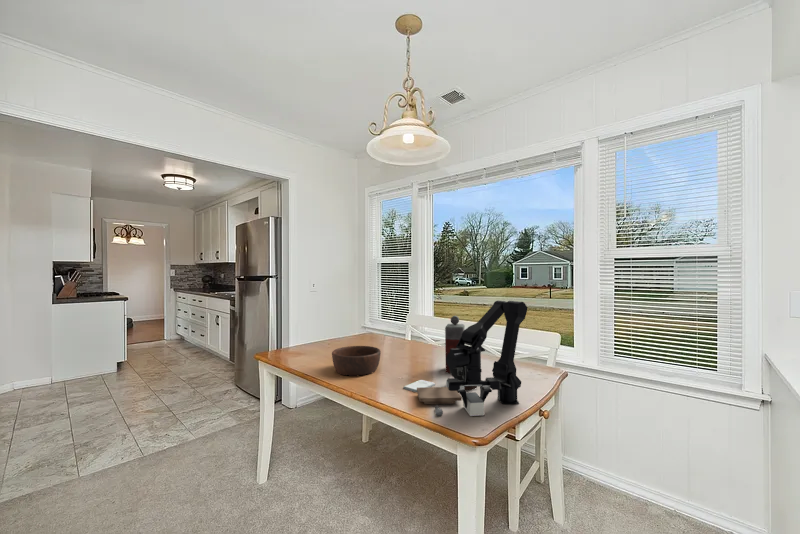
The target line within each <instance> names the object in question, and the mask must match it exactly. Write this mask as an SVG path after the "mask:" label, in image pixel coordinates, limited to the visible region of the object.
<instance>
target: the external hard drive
mask: <svg viewBox="0 0 800 534" xmlns="http://www.w3.org/2000/svg"><path fill="white" fill-rule="evenodd" d="M425 387H436V383H435V382H433V381H429V380H428V381H427V380H424V379H419V380H417V381H413V382H412V383H409V384H405V386H403V389H404V390H406V391H410V392H412V393H417V388H425Z"/></svg>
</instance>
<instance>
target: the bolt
mask: <svg viewBox="0 0 800 534" xmlns="http://www.w3.org/2000/svg"><path fill="white" fill-rule="evenodd" d="M434 410H435V411H434V413H435V415H436V416H437V417H441V416H443V414H444V411H443V409H442V408H441V407H440V406H439V404H435V406H434Z"/></svg>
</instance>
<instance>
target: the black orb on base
mask: <svg viewBox="0 0 800 534" xmlns="http://www.w3.org/2000/svg"><path fill="white" fill-rule="evenodd" d="M463 369H464V367H463ZM449 370H450V373H449V374H450V375H451V376H452V378H457V379H458V381H465V380H464V379H463V378H462V376H458V375H457V368H456V369H451V368H449ZM477 387H478V386H472V387H464V389H465V391H471V390H472V389H473V390H475V388H476V389H477Z"/></svg>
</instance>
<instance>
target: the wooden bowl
mask: <svg viewBox="0 0 800 534" xmlns="http://www.w3.org/2000/svg"><path fill="white" fill-rule="evenodd" d="M381 353H382V352H381V349H380V348H378V347H376V346H369V345H349V346H348V345H347V346H344V347H343V346H342V347H339V348H336V349H334V350H332V351H331V356H332V357H331V359H332V364H333V367H334V369H335V371H336V372H337V374H339V373H340V374H339V375H341V376H347V375H349V376H348V377H351V376H352V377H358V376H357V375H361V376H366V374H367V375H371V374H373V373H374V372H375V371H376V370H377V369H378V368H379V364H380V360H381ZM372 372H373V373H372Z"/></svg>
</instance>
